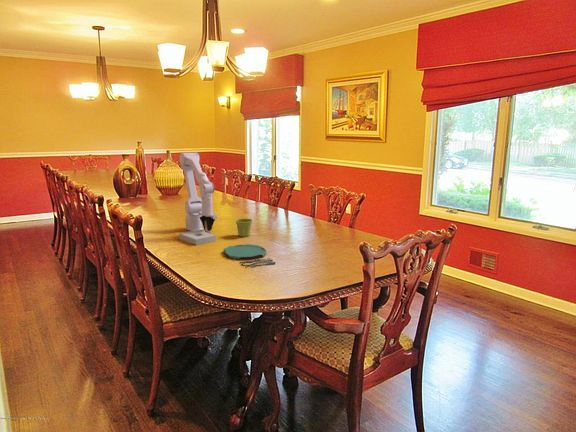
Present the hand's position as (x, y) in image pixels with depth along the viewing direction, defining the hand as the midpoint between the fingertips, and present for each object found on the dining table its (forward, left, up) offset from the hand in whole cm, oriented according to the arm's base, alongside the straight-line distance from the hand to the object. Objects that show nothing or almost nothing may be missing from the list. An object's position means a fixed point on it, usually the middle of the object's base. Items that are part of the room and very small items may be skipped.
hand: (207, 229), depth 233 cm
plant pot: (+14, +14, -3) cm, 20 cm away
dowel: (0, 0, -3) cm, 3 cm away
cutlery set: (+45, -9, -4) cm, 46 cm away
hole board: (+5, -10, -3) cm, 12 cm away
